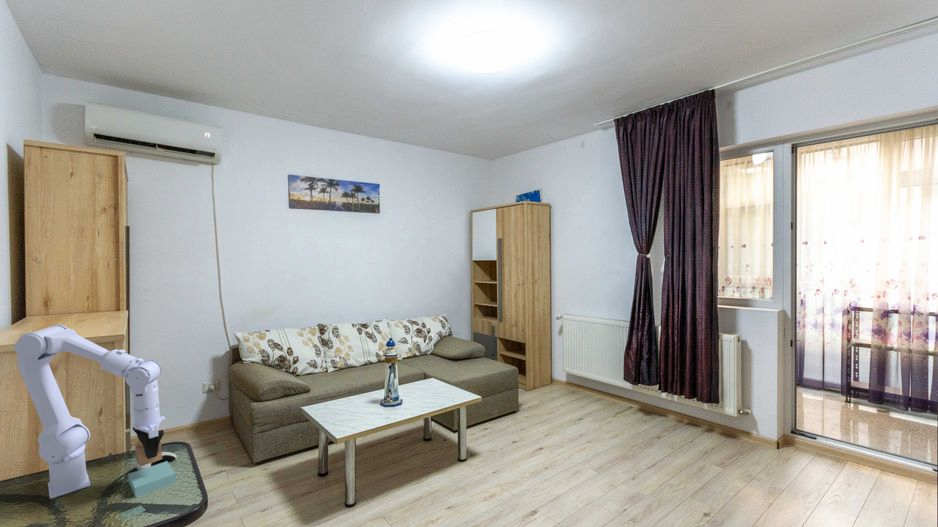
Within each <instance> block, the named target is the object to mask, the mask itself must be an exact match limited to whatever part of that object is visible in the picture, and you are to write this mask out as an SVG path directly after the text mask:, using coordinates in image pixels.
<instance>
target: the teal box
mask: <svg viewBox="0 0 938 527" xmlns="http://www.w3.org/2000/svg"><path fill="white" fill-rule="evenodd" d="M127 477H128V484H129V486H130V489H131V491H132V493H133V494H134V497H135V498H137V497H140V496H143V495H145V494H149V493H150V492H154V491H156V490H160V489H162V488H164V487H167V486H170V485H172V484H175V483H177V481H176V472H175V471H174V470H173V468H172V466H171V465H170V463H169V461H164V462H160V463H157V464H153V465H151V467H148V468H145V469H142V470H139V471H138V470H136V471H132V472H131V473H128V474H127Z"/></svg>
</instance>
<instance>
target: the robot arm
mask: <svg viewBox="0 0 938 527" xmlns="http://www.w3.org/2000/svg"><path fill="white" fill-rule="evenodd" d="M13 348H14V351H15V352H16V354H17V360H16V365H17V370H18V372H19V374H20V377H21V379H22V380H23V383H24V385H25V387H26V389H27V392H28V394H29V396H30V399H31V402H32V404H33V406H34V408H35V410H36V413H37V415H38V417H39V419H40V422H41V424H42V427H43V428H42V430H41V432H40V433H39V435H38V437H37V442H38V444H39V447H38V453H39V457H40V458H41V459H42V460H43V461H45V462H46V464H48V472H49V482H47V487H48V494H49V495H48V496H49V499H50V500H51V499H55V498H57V497H62V496H64V495H68V494H70V493H73V492H76V491H79V490H82V489H85V488H88V487H90V486H91V482H90V478H89V474H88V471H87V465H86V464H87V463H86V454H85V453H86V452H85V449H86V444H87V443H88V442H89V440H90V439H91V432H90V430H89V429H88V427H87V426H85V424H83V423H82V422H83V421H82V420H81V418H79V417H73V416H71V414H70V412H69V409H68V406H67V404H66V402H65V399H64V396H63V395H62V393H61V390H60V388H59V385H58V383H57V381H56V379H55V376H54V373H53V371H52V368H51V367H50V362H51V360H53V358H54V357H55V355H56V354H57V353H65V352H69V353H71V354H74V355H77V356H80V357H83V358H86V359H88V360H90V361H91V360H92V361H94V362H96V363H97V362H98V363H99V366H100V368H101V370H103V371H105V372H106V371H107V372H108V373H111V374H112V375H115V376H117V377H120V378H122V379H124V380H125V383H126V384H127V385H128V386H129V387H130V393H131V397H132V410H133V411H132V412H133V427H132V428H131V429H132V431H133V432H134V433H135V434H136V436H137V439H138V441H141V443H142V444H143V447H144V450H145V454H146V457H147V459H150V458H153V457H156V456H157V453H158V448H159V443H160V441H161V440H162V438H163V436H164V433H165V431H164V429H160V430H159V428H160V424H161V423H162V422H164V421H165V420H166V417H165V415H162V416H161V411H160V396H159V382H158V378H159V377H160V376H161V374H162V372H163V371H162V366H161V365H160V363H159V362H157V361H156V360H154V359H146V360H145V359H143V358H141V357H139V358H138V357H136V356H134V355H131V354H129V353H127V351H126V350H125V349H123V348H122V349H117V348H116V349H112V350H108V349H107V348H104V347H102V346H100V345H98V344H97V343H94V342H93V341H91V340H89V339H88V338H87V339H86V338H85V337H84V336H81V335H79V334H78V333H77V332H76V331H75V329H72V328H69V327H68V326H65V325H63V324H53V325H51V326H49V327H45V328H42V329H39V330H36V331H31V332H26V333H24V334H22V335H21V336H20V337H19V338H18V339H17V340H16V342H15V343H14V344H13Z"/></svg>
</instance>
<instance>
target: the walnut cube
mask: <svg viewBox="0 0 938 527" xmlns="http://www.w3.org/2000/svg"><path fill="white" fill-rule="evenodd" d="M134 448H135V449H134V450H135V451H134V452H135V460H136V462H137V463H138V464H139V466H143V465H146V464H149V463H152V462H155V461H158V460H159V461H162V460H161V459H162V452H163V451H162V442H161V440H160V443H159V448H158V453H157V456H156V457H153V458H150V459H147V457H146V454H145V450H144V447H143V444H142V443H141V441H139V440H138V441H135V442H134ZM159 461H158V462H159Z"/></svg>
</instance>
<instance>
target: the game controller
mask: <svg viewBox="0 0 938 527" xmlns="http://www.w3.org/2000/svg"><path fill="white" fill-rule="evenodd" d="M173 460H175V461H176V460H177V455H176V453H173V452H170V451H162V459H161V460H158V461H155V462H152V463H149V464H146V465H143V466H139V464H138V462H137V463H136V471H139V470H142V469H145V468H148V467H151V466H153V465H155V464H156V463H158V462H159V461H164V462H166V461H167V462H174V461H173Z"/></svg>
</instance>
